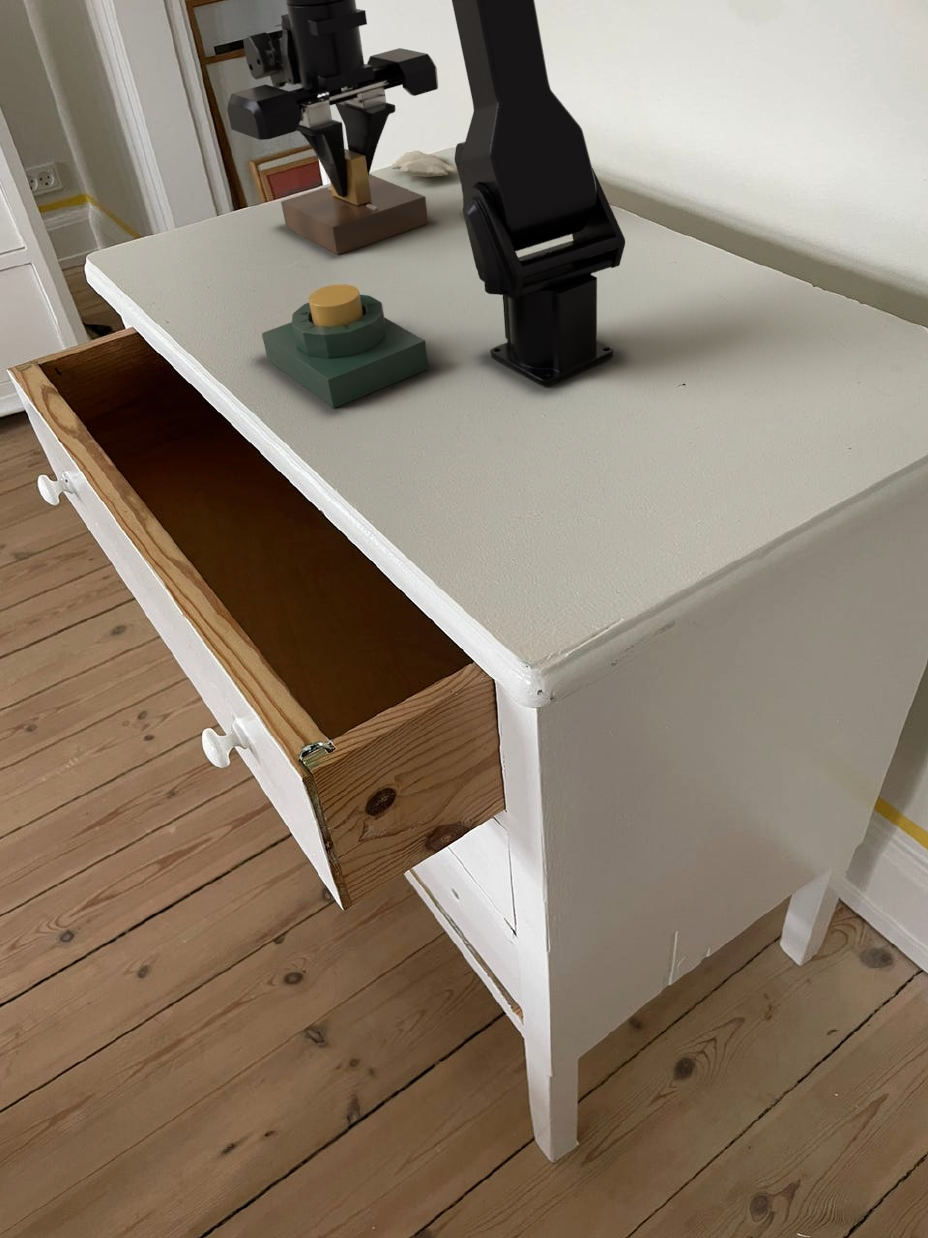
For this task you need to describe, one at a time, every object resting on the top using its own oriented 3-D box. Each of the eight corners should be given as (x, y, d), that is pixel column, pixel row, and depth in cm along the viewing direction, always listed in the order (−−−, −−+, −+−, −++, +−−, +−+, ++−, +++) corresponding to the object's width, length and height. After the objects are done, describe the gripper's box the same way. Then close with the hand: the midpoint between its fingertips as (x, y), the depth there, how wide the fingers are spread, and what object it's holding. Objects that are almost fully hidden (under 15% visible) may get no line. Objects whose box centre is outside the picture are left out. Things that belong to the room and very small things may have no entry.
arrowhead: (457, 190, 100) (448, 162, 108) (460, 171, 99) (451, 144, 106) (391, 182, 99) (387, 154, 106) (393, 162, 98) (388, 135, 105)
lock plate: (428, 223, 92) (425, 194, 90) (337, 254, 88) (332, 225, 86) (373, 199, 98) (369, 171, 96) (286, 227, 94) (280, 199, 92)
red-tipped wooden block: (372, 201, 90) (365, 152, 87) (357, 205, 90) (350, 157, 87) (346, 190, 93) (338, 143, 90) (332, 195, 92) (324, 147, 90)
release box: (428, 368, 70) (422, 316, 67) (333, 408, 67) (323, 355, 64) (357, 325, 76) (349, 276, 74) (267, 360, 73) (255, 309, 71)
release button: (372, 317, 69) (368, 294, 68) (328, 334, 67) (324, 310, 66) (346, 302, 71) (342, 279, 70) (304, 318, 70) (299, 295, 69)
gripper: (360, -30, 89) (384, 150, 100) (176, 12, 82) (223, 202, 92) (432, -20, 83) (449, 172, 93) (239, 26, 75) (282, 230, 85)
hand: (351, 193), depth 91 cm, fingers closed on red-tipped wooden block, 2 cm apart
